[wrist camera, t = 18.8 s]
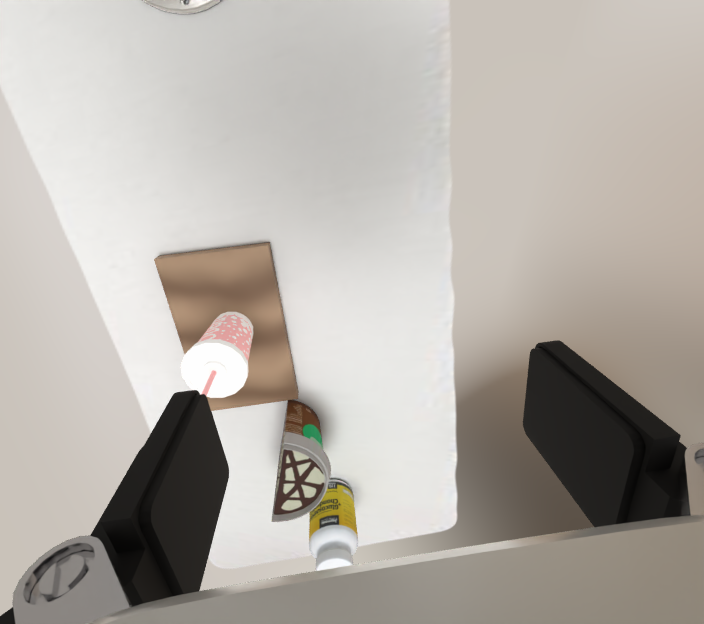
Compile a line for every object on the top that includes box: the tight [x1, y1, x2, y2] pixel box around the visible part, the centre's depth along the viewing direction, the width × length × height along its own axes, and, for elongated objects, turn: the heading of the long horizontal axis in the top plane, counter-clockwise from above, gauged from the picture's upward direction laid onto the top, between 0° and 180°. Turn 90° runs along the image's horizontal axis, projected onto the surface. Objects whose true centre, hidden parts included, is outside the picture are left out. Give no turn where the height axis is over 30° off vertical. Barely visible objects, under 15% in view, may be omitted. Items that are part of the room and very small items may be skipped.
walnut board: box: [154, 242, 298, 411], centre depth 45 cm, size 20×12×2 cm, turn 6°
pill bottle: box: [309, 480, 358, 571], centre depth 52 cm, size 6×6×12 cm
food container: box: [272, 400, 331, 522], centre depth 48 cm, size 12×6×10 cm, turn 169°
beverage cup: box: [181, 312, 253, 398], centre depth 38 cm, size 6×6×14 cm
